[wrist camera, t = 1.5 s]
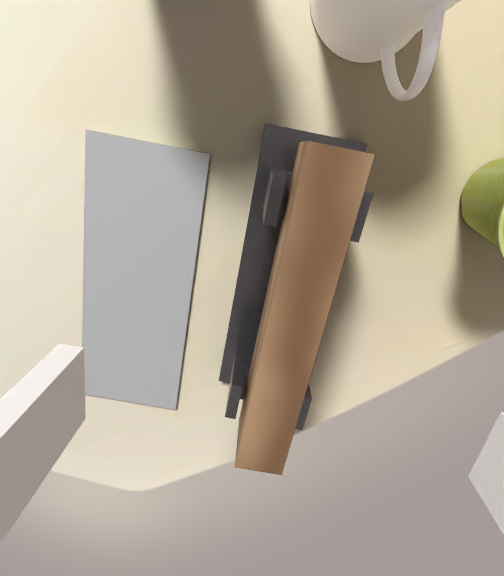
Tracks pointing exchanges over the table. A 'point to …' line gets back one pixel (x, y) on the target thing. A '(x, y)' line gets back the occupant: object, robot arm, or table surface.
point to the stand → (268, 253)
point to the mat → (138, 265)
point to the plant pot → (486, 202)
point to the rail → (299, 298)
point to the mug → (382, 34)
